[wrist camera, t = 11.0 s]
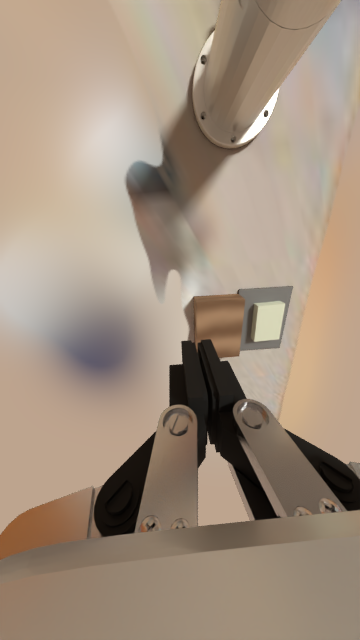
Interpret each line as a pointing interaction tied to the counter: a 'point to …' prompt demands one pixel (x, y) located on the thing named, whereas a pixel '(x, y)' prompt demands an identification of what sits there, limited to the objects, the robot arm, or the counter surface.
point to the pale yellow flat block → (267, 320)
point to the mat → (250, 298)
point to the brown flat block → (220, 322)
